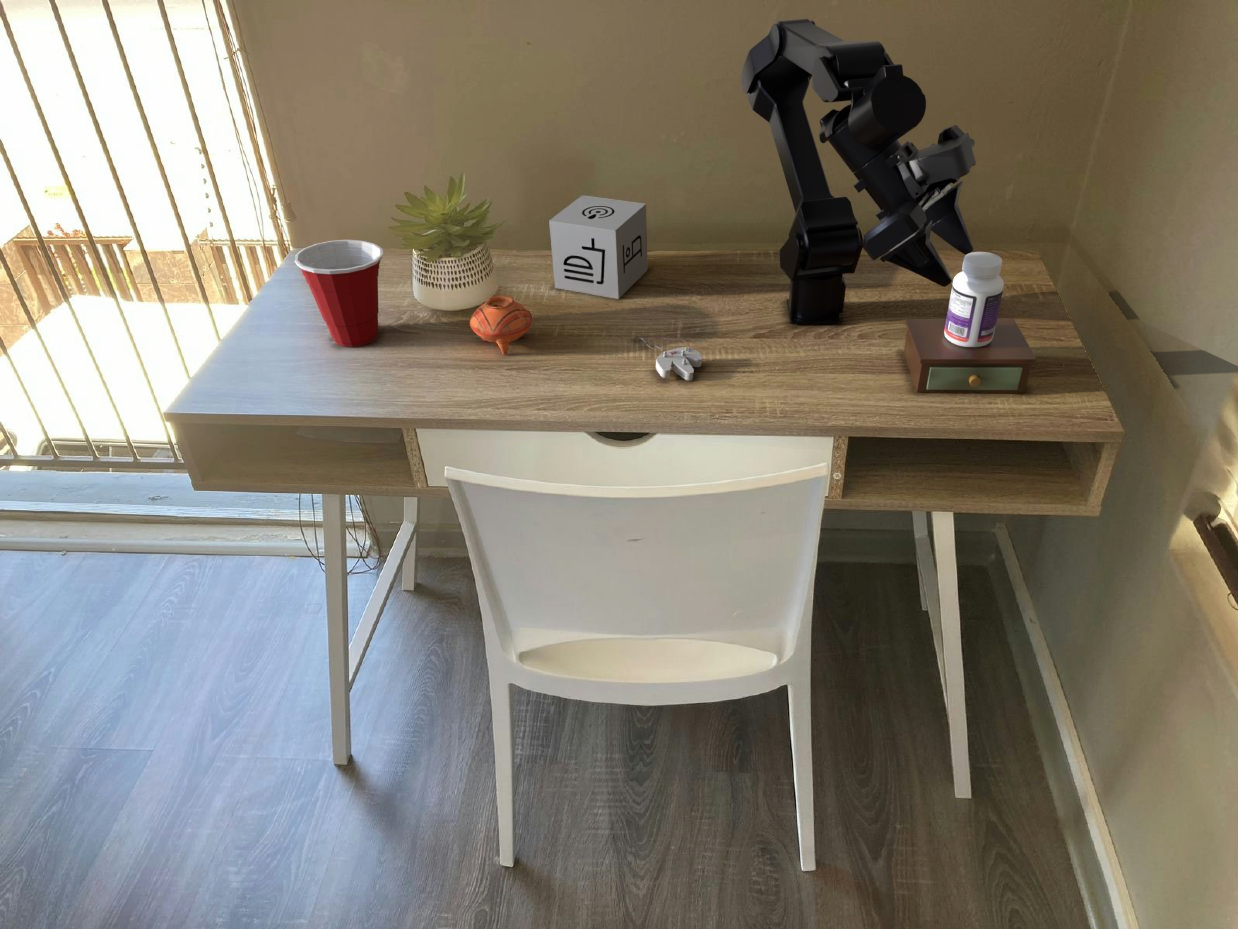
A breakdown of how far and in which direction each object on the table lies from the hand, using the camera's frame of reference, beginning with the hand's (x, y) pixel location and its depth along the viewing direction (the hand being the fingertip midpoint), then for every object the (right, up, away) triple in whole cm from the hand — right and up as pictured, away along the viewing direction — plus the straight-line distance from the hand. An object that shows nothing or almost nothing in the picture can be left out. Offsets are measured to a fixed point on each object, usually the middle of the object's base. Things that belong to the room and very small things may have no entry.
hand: (959, 267), depth 105 cm
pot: (-53, -6, +17) cm, 56 cm away
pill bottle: (+2, -7, +4) cm, 9 cm away
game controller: (-32, -9, +12) cm, 35 cm away
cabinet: (+3, -11, +6) cm, 13 cm away
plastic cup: (-73, -5, +20) cm, 75 cm away
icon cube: (-40, +5, +31) cm, 51 cm away
